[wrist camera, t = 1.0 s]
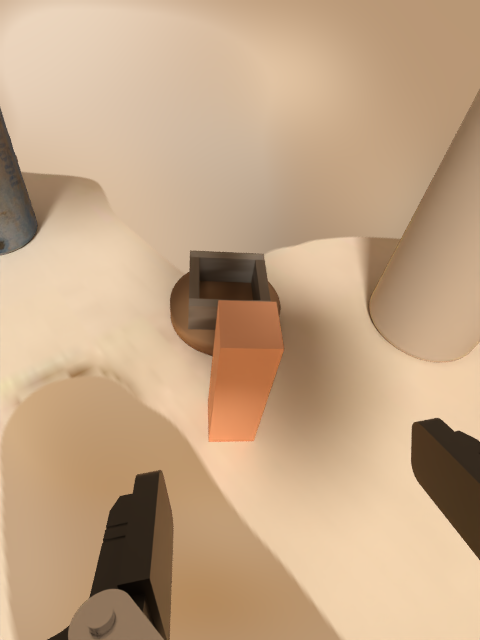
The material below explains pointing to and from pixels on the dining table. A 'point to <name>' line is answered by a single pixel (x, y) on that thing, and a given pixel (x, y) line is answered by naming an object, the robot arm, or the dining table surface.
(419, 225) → the cylinder vase
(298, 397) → the dining table surface
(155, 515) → the robot arm
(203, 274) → the block holder stand
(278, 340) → the post
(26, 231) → the bottle
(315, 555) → the dining table surface
